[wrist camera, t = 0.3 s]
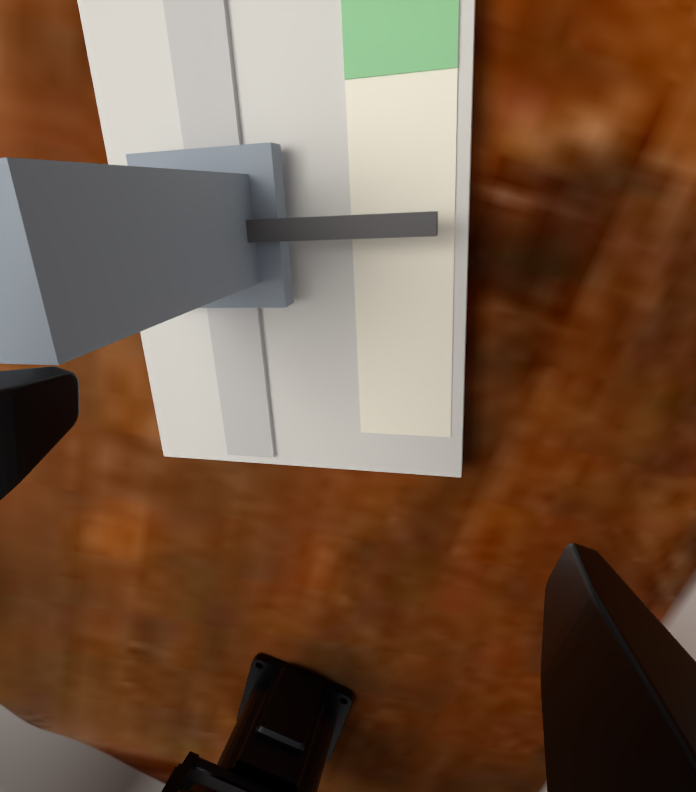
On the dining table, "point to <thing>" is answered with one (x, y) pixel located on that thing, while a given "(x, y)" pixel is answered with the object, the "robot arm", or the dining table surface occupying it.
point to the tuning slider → (151, 244)
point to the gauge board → (311, 197)
